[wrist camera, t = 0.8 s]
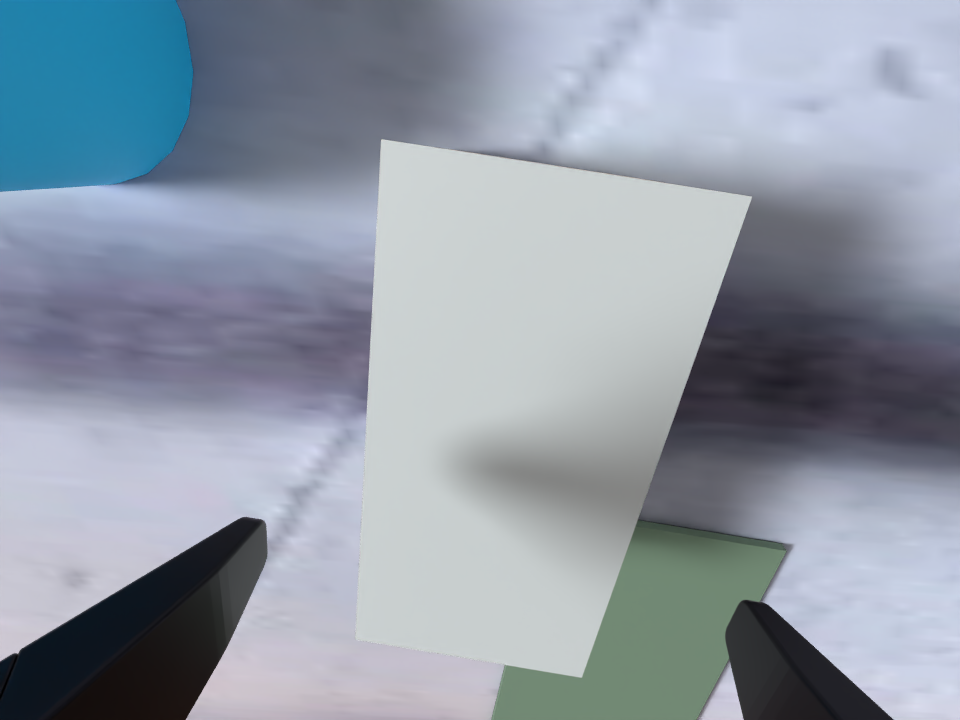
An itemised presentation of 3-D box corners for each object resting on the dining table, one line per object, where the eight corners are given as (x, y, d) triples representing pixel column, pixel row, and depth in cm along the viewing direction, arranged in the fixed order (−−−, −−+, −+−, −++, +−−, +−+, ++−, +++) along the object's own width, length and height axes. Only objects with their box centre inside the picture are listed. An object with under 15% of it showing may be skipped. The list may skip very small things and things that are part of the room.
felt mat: (667, 761, 26) (669, 770, 26) (488, 730, 26) (488, 739, 26) (781, 543, 20) (786, 551, 19) (544, 504, 20) (545, 511, 19)
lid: (574, 613, 16) (581, 677, 14) (375, 580, 16) (355, 639, 14) (708, 189, 11) (752, 196, 9) (406, 142, 11) (381, 138, 9)
